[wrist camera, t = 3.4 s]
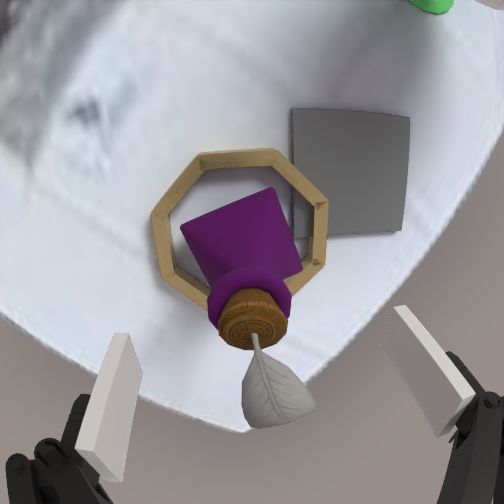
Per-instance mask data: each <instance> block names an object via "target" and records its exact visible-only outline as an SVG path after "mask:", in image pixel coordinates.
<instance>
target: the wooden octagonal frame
mask: <svg viewBox="0 0 504 504" xmlns="http://www.w3.org/2000/svg"><path fill="white" fill-rule="evenodd" d="M255 166H272V167H273V168H274V169H275V170H276V171H278V172H279V173H280V174H281V175H282V176H283V177H284V178H285V179H286V180H287V181H288V182H289V183H290V184H291V185H292V186H294V187H295V188H296V189H297V190H298V191H299V192H300V193H301V194H302V195H303V196H304V197H305V198H306V199H307V200H308V201H309V202H310V203H311V204H312V208H311V237H309V241H308V255H307V256H306V257H305V258H304V259H303V260H302V261H301V263H302V266H303V270H302V271H301V272H300V273H297V274H295V275H293V276H291V277H288V278H286V279H284V280H283V281H284V282H285V284H286V286H287V287H288V289H289V291H290V292H291V294H292V296H293V295H294V294H296V293H297V292H298V291H299V290H300V289H301V288H302V287H303V286H304V285H305V284H306V283H307V282H308V281H309V280H310V279H311V278H312V277H313V276H315V275H316V274H317V273H318V272H319V271H320V270H321V269H322V268H323V267H324V265H325V258H326V243H327V227H328V206H329V201H328V199H327V198H326V197H325V196H324V195H323V194H322V193H321V192H320V191H319V190H318V189H317V188H316V187H315V186H314V185H313V184H312V183H311V182H310V181H309V180H308V179H307V178H306V177H305V176H304V175H303V174H302V173H301V172H300V171H299V170H298V169H297V168H296V167H295V166H294V165H293V164H292V163H290V162H289V161H288V160H287V159H286V158H285V157H284V156H283V155H282V154H281V153H280V152H279V151H278V150H276V149H273V148H268V149H245V150H229V151H215V152H203V153H200V154H198V155H197V156H196V157H195V158H194V159H193V161H192V162H191V163H190V164H189V165H188V167H187V168H186V169H185V170H184V171H183V172H182V174H181V175H180V176H179V177H178V178H177V180H176V181H175V182H174V183H173V185H172V186H171V187H170V188H169V190H168V191H167V192H166V193H165V194H164V196H163V197H162V198H161V200H160V201H159V202H158V203H157V205H156V206H155V207H154V209H153V210H152V212H151V221H152V227H153V233H154V239H155V245H156V251H157V256H158V262H159V267H160V272H161V277H162V278H163V280H164V281H165V282H167V283H168V284H169V285H171V286H172V287H174V288H175V289H177V290H178V291H180V292H181V293H182V294H184V295H185V296H187V297H188V298H190V299H191V300H193V301H194V302H196V303H197V304H199V305H200V306H202V307H203V308H205V309H206V310H208V308H207V298H208V296H209V294H210V292H211V290H210V289H209V288H207V287H206V286H205V285H203V284H202V283H200V282H199V281H198V280H196V279H195V278H193V277H192V276H191V275H189V274H188V273H186V272H185V271H184V270H182V269H181V268H180V267H178V266H177V265H176V261H175V254H174V248H173V241H172V234H171V227H170V220H169V213H170V212H171V211H172V209H173V208H174V207H175V206H176V204H177V203H178V202H179V201H180V200H181V198H182V197H183V196H184V195H185V194H186V192H187V191H188V190H189V189H190V188H191V187H192V185H193V184H194V183H195V182H196V181H197V179H198V178H199V177H200V176H201V175H202V174H203V173H204V171H205V170H210V169H223V168H238V167H255Z"/></svg>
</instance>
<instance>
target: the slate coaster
mask: <svg viewBox="0 0 504 504" xmlns="http://www.w3.org/2000/svg"><path fill="white" fill-rule="evenodd" d="M409 138H410V117H404V116H396V115H389V114H380V113H370V112H360V111H347V110H332V109H307V108H292V155H293V165H294V166H295V167H296V168H297V169H298V170H299V171H300V172H301V173H302V174H303V175H304V176H305V177H306V178H307V179H308V180H309V181H310V182H311V183H312V184H313V185H314V186H315V187H316V188H317V189H318V190H319V191H320V192H321V193H322V194H323V195H324V196H325V197H326V198H327V199H328V201H329V206H328V227H327V236H328V235H343V234H357V233H372V232H387V231H401V229H402V221H403V213H404V205H405V196H406V185H407V174H408V159H409ZM311 208H312V204H311V203H310V202H309V201H308V200H307V199H306V198H305V197H304V196H303V195H302V194H301V193H300V192H299V191H298V190H297V189H296V188H295V187H294V186H293V232H292V235H293V237H294V238H301V237H311Z"/></svg>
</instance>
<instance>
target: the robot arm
mask: <svg viewBox="0 0 504 504" xmlns="http://www.w3.org/2000/svg"><path fill="white" fill-rule="evenodd" d="M383 348H384V350H385V352H386V353H387V355H388V356H389V358H390V359H391V361H392V362H393V364H394V366H395V368H396V369H397V371H398V372H399V374H400V375H401V377H402V379H403V381H404V382H405V384H406V385H407V387H408V389H409V390H410V392H411V394H412V396H413V397H414V398H415V401H416V402H417V404H418V406H419V407H420V409H421V411H422V412H423V414H424V416H425V418H426V420H427V421H428V423H429V425H430V427H431V428H432V430H433V432H434V434H435V435H436V437H437V438H438V437H440V436H442V435H444V434H447V433H449V432H450V431H451V429H452V428H453V427H454V425H456V426H457V428H458V430H457V431H456V432H455V433H454V435H453V436H452V437H451V439H450V440H449V443H451V441H453V439H454V443H453V447H452V452H451V456H450V460H449V464H448V468H447V472H446V475H445V479H444V482H443V486H442V489H441V492H440V495H439V498H438V501H437V504H491V502H492V498H493V504H504V396H503V397H500V396H499V395H497V394H496V393H494V392H485V390H484V389H483V388H482V387H481V385H480V384H479V383H478V381H477V380H476V379H475V377H474V376H473V375H472V374H471V373H470V371H468V369H467V367H466V366H465V365H464V364H463V362H462V361H461V360H460V358H459V357H457V356H456V355H455V354H453V353H452V352H450V351H449V352H446V353H445V352H444V351H443V350H442V349H441V347H440V346H439V345H438V344H437V342H436V341H435V340H434V339H433V337H432V336H431V335H430V334H429V333H428V332H427V330H426V329H425V328H424V327H423V325H421V323H420V322H419V321H418V319H417V318H416V317H415V316H414V315H413V314H412V312H411V311H410V310H409V309H408V308H407V307H406V306H405V305H403V306H397V307H393V310H392V314H391V318H390V323H389V326H388V330H387V334H386V337H385V341H384V345H383ZM142 374H143V372H142V369H141V367H140V364H139V361H138V359H137V356H136V353H135V350H134V347H133V344H132V342H131V339H130V336H129V333H114V335H113V338H112V340H111V343H110V345H109V348H108V350H107V353H106V355H105V358H104V361H103V363H102V366H101V369H100V372H99V374H98V377H97V380H96V383H95V385H94V388H93V391H92V394H91V395H88V394H81V395H80V396H79V397H78V398H77V399H76V400H75V402H74V404H73V407H72V409H71V414H70V415H69V418H68V421H67V424H66V427H65V430H64V432H63V435H62V439H61V442H59V441H58V440H56V439H54V438H46V439H43V440H41V441H40V442H39V443H38V444H37V445H36V447H35V450H34V456H35V460H29V459H28V458H27V457H26V456H25V455H23V454H19V453H16V454H13V455H12V456H10V457H9V458H8V460H7V462H6V478H7V488H8V495H9V501H10V504H113V502H112V501H111V499H110V498H109V497H108V495H107V493H106V492H105V490H104V489H103V487H102V486H101V484H99V482H98V481H99V476H101V477H102V478H103V479H104V480H105V481H111V482H118V483H122V481H123V474H124V467H125V461H126V455H127V448H128V443H129V438H130V432H131V427H132V422H133V416H134V411H135V406H136V402H137V397H138V392H139V388H140V383H141V379H142Z"/></svg>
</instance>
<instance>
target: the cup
mask: <svg viewBox="0 0 504 504" xmlns="http://www.w3.org/2000/svg"><path fill="white" fill-rule="evenodd" d="M409 1H410V2H411V3H412V4H414V5H416V6H418V7H419V8H421V9H423V10H424V11H426V12H431V13H435V14H441V13H444V12H448V11H449V9H450V8H451V6H452V5H453V0H409ZM475 1H477V2H479V3H481V4H484V5H486V6H488V7H491V8H493V9H496V10H504V0H475Z"/></svg>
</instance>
